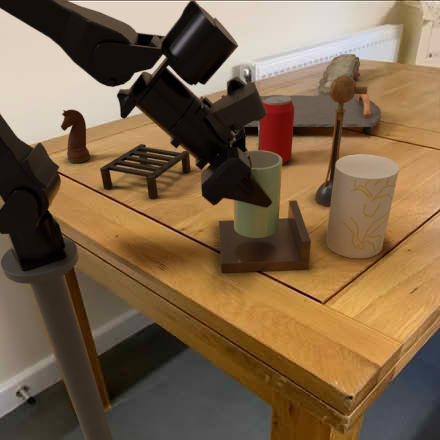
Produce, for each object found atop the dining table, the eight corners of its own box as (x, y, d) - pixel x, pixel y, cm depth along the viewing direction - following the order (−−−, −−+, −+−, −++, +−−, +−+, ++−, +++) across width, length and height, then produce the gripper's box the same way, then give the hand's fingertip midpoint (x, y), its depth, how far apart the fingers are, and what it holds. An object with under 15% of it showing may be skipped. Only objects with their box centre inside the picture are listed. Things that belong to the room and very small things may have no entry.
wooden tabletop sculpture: (349, 195, 81) (368, 71, 69) (350, 207, 78) (370, 79, 66) (315, 193, 82) (327, 71, 70) (314, 205, 79) (327, 79, 67)
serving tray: (212, 137, 106) (210, 109, 103) (222, 106, 125) (221, 82, 121) (386, 138, 102) (392, 109, 99) (371, 106, 120) (375, 80, 117)
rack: (154, 199, 83) (151, 178, 80) (103, 188, 87) (99, 168, 84) (190, 171, 92) (189, 151, 90) (143, 162, 96) (140, 143, 94)
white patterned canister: (341, 262, 65) (353, 182, 58) (317, 234, 72) (325, 158, 64) (393, 252, 67) (411, 173, 60) (364, 225, 73) (378, 151, 66)
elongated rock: (350, 84, 120) (311, 83, 123) (347, 105, 123) (310, 103, 126) (365, 51, 145) (332, 51, 148) (363, 70, 148) (331, 69, 151)
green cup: (250, 243, 63) (252, 173, 57) (225, 223, 68) (223, 157, 61) (287, 229, 66) (292, 161, 60) (260, 211, 70) (262, 146, 64)
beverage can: (274, 151, 99) (276, 91, 91) (298, 160, 94) (302, 98, 87) (250, 160, 95) (251, 98, 88) (274, 169, 91) (276, 106, 84)
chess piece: (65, 157, 99) (53, 109, 93) (88, 152, 101) (78, 104, 95) (71, 164, 96) (59, 114, 90) (95, 159, 98) (85, 110, 92)
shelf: (221, 273, 64) (220, 245, 62) (219, 229, 74) (218, 203, 71) (308, 269, 64) (311, 241, 62) (294, 225, 74) (296, 200, 71)
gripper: (229, 81, 46) (327, 182, 53) (222, 44, 61) (300, 127, 68) (158, 161, 51) (256, 244, 58) (168, 109, 65) (245, 180, 72)
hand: (266, 193), depth 64 cm, fingers closed on green cup, 6 cm apart
